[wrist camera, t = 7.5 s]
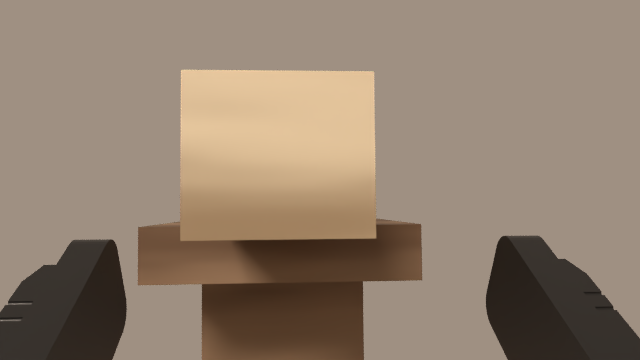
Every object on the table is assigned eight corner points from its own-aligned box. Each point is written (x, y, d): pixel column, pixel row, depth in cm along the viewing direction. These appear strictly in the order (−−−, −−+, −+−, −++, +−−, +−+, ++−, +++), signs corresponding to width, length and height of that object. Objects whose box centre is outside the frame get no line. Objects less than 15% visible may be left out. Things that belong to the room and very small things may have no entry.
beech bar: (376, 238, 11) (374, 71, 11) (179, 241, 11) (181, 70, 11) (319, 218, 30) (318, 156, 30) (247, 219, 30) (247, 156, 30)
